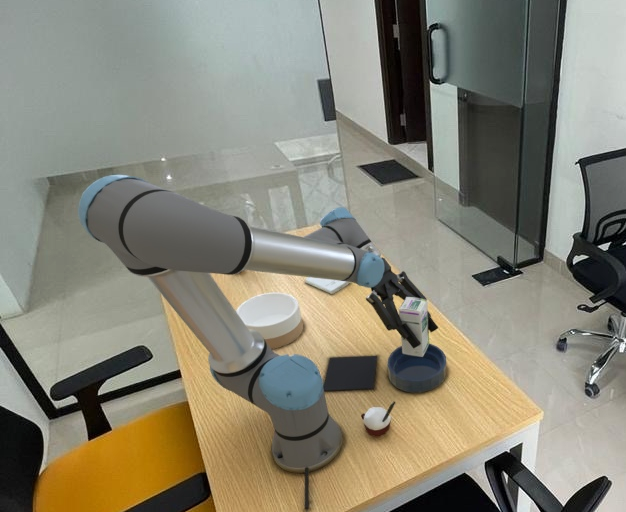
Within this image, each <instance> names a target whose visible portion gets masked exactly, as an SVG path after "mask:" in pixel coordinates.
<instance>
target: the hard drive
mask: <svg viewBox="0 0 626 512" xmlns="http://www.w3.org/2000/svg"><path fill="white" fill-rule="evenodd" d="M304 281H305V283H306V284H308V285H310V286H312V287H314V288H316V289H319V290H321V291H324V292H325V293H327V294H331V295H334V294H335V293H337V292H338V291H340V290H342V289H344V288H345V287H347V286H349V284H350V282H346V281H339V280H331V279H321V278H312V277H306V278H305V280H304Z"/></svg>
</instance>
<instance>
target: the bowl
mask: <svg viewBox="0 0 626 512" xmlns="http://www.w3.org/2000/svg"><path fill="white" fill-rule="evenodd" d="M235 311H236V312H237V314H238V315H239V316H240V318H241V319H242V321H243V322H244V324H245V325H246V327H247V328H248V329H251V330H255V331H257V332H259V333H260V334H261V335H262V337H263V338H264V340H265V341H266V343H267V344H268V345H269V347H270V348H271V350H273V349H274V350H275V349H279V348H282V347H285V346H287V345H289V344H291V343H292V342H294V341H296V340H297V339H298V338H299V337H300V336H301V335H302V333H303V330H304V322H303V318H302V312H301V308H300V305H299V301H298V299H297V298H296V297H294V296H293V295H291V294H289V293H284V292H265V293H261V294H258V295H255V296H252V297H250V298H248V299H246V300H245V301H244V302H242V303H241V304H239V306H238V307H237V309H236V310H235Z"/></svg>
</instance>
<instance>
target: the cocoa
mask: <svg viewBox="0 0 626 512" xmlns="http://www.w3.org/2000/svg"><path fill="white" fill-rule="evenodd" d="M395 405H396V401H392V403H390V404H389V407H388V409H387V410H386V409H385V408H384V407H383V406H373V407H370V408H369V409H367V411H366V412H365V413H361V415H360V417H361V419H362V420H363V426H364V429H365V432H366V433H367V434H368V435H369V436H371V437H375V438H377V437H382V436H384V435H386V434H387V433H388V431H389V429H390V426H391V421H392V415H390V414H391V412H392V410H393V408H394V407H395Z"/></svg>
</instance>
